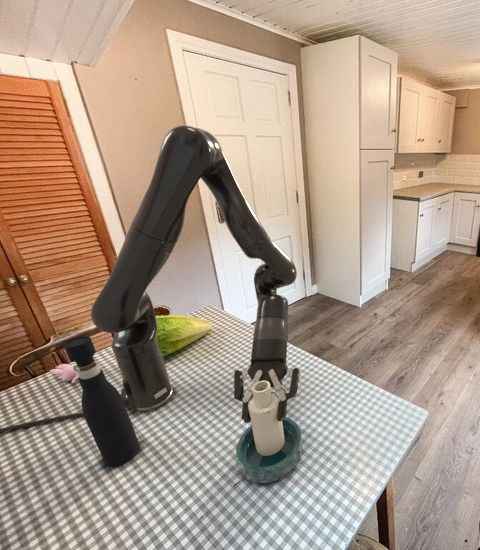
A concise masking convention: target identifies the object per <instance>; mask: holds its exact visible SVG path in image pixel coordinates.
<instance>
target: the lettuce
mask: <svg viewBox="0 0 480 550" xmlns="http://www.w3.org/2000/svg"><path fill="white" fill-rule="evenodd" d="M155 317H156V321H157V327H158V329H157V339H158V343H159V346H160V349H161V353H162V356H163V358H164V357H166V356H168V355H170V354H173V353H175V352H177V351H179V350H181V349H183V348H185V347H187V346H188V345H190V344H192V343H194V342H196V341H197V340H199V339H201V338H202V337H203V336H205V335H206V334H208V333H209V332H210V331H211V330H212V328H213V325H212V323H211V321H210V320H208V319H204V318H198V317H194V316H190V315H189V316H188V315H181V314H179V315H177V314H163V315H155Z"/></svg>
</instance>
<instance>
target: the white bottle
mask: <svg viewBox="0 0 480 550" xmlns="http://www.w3.org/2000/svg"><path fill="white" fill-rule="evenodd" d="M252 391H253V397H252V398H251V400H250V401H249V404H248V409H249V414H250V419H251V421H250V424H251V426H252V430H253V435H254V440H255V446H256V449H257V452H258V453H259V454H261V455H264V456H269V455H273V454H275V453H277V452H278V451H279V450H280V449H281V448H282V447H283V444H284V431H283V424H282V421H278V407H279V402H280V397H279V395H278V393H277V392H274V391H272V388H271V386H270V383H269V382H268V381H259V382H257V383H255V384H254V385H253V387H252Z"/></svg>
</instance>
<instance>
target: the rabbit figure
mask: <svg viewBox="0 0 480 550" xmlns="http://www.w3.org/2000/svg"><path fill="white" fill-rule="evenodd" d="M77 369H78V367H77V364H74V365H71V364H68V363H62V364H59V365H57V366H55V368H53V369H49V372H50V373H51V374H53V375H55V376H59V377H61V379H62V380H63V381H64V382H71V384H74V383H75V381H76V380H78V378H79V376H78V375H79V374H78V373H77Z"/></svg>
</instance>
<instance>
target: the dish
mask: <svg viewBox="0 0 480 550" xmlns="http://www.w3.org/2000/svg"><path fill="white" fill-rule="evenodd" d="M282 424H283V431H284V444H283V447H282V448H281V449H280V450H279V451H278V452H277V453H275V454H273V455H269V456H264V455H261V454H259V453H258V452H257V449H256V446H255V440H254V435H253V430H252V425H250V426H249V427H248V428H247V429H246V430H245V431H244V432H243V433H242V435H240V438H239V440H238V442H237V444H236V450H235V451H236V452H235V455H236V458H237V463H238V467H239V470H240V474H241V475H242V476H243V477H244V478H245V479H246V480H249V481H250V482H253V483H255V484H269V483H272V482H276V481H278V480H280V479H283V478H284V477H286V476H287V475H288V474H290V472H291V471H293V469H295V467H296V466H297V464H298V463H299V461H300V459H301V457H302V453H303V441H302V439H303V438H302V430H301V428H300V426H299V424H298V423H297V422H295V421H294V420H293V419H292V418H289V417H287V416H286V417H285V418H283V421H282Z"/></svg>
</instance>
